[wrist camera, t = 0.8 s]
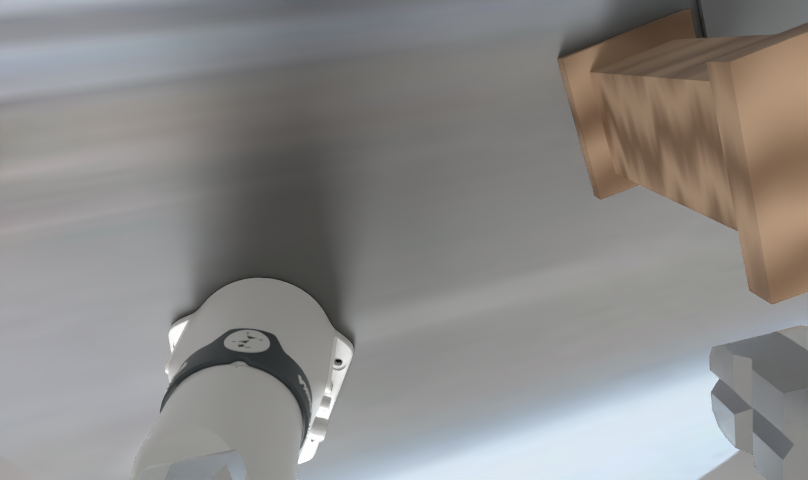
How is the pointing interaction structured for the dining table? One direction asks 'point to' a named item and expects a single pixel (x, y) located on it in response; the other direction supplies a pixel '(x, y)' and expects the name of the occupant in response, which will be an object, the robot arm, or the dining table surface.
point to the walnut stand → (705, 133)
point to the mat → (750, 16)
